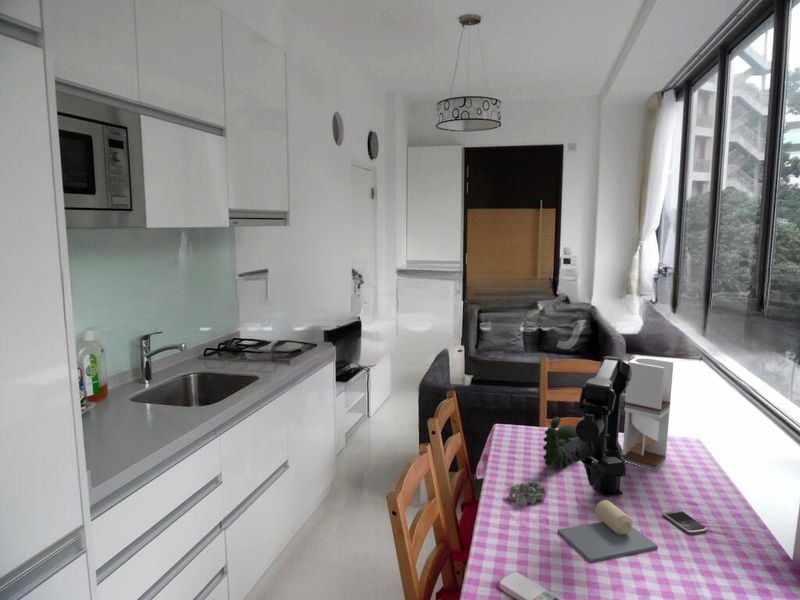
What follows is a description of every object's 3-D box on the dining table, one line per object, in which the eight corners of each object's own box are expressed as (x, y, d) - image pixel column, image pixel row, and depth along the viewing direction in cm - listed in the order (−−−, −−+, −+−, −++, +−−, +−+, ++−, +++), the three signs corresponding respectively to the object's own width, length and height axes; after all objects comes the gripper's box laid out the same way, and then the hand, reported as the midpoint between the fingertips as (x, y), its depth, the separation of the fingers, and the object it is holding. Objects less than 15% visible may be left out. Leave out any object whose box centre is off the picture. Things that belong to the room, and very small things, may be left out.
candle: (615, 503, 159) (639, 522, 150) (606, 521, 159) (629, 541, 150) (600, 496, 158) (623, 515, 148) (591, 514, 158) (613, 534, 148)
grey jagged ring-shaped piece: (519, 508, 167) (519, 494, 166) (504, 496, 174) (505, 483, 173) (549, 501, 171) (550, 488, 170) (534, 490, 178) (534, 477, 177)
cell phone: (688, 536, 153) (689, 532, 152) (660, 515, 163) (660, 511, 163) (708, 534, 154) (708, 529, 154) (678, 513, 165) (679, 508, 165)
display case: (620, 461, 199) (627, 361, 194) (632, 451, 207) (638, 356, 202) (655, 470, 191) (663, 368, 186) (665, 460, 199) (673, 362, 194)
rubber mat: (620, 521, 159) (620, 518, 159) (657, 548, 146) (657, 545, 146) (557, 532, 153) (557, 529, 153) (590, 562, 140) (590, 559, 140)
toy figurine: (562, 481, 187) (589, 450, 206) (563, 427, 183) (590, 400, 202) (535, 473, 192) (563, 444, 212) (535, 420, 188) (564, 395, 208)
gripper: (549, 420, 159) (546, 474, 161) (591, 446, 141) (587, 506, 143) (584, 416, 162) (581, 469, 164) (629, 441, 145) (625, 500, 147)
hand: (592, 485), depth 155 cm, fingers closed
